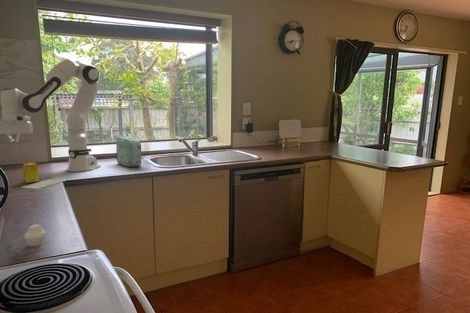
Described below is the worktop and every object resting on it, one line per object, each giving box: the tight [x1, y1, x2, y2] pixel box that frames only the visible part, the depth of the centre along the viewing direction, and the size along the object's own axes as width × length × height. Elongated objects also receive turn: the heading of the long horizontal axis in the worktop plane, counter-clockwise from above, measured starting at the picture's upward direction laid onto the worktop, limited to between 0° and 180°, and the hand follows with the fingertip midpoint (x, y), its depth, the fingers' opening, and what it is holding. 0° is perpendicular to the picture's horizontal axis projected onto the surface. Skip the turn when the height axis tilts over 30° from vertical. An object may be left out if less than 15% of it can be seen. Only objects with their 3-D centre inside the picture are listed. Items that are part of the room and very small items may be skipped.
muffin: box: [24, 224, 47, 247], centre depth 109 cm, size 6×6×7 cm
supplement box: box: [22, 162, 40, 185], centre depth 191 cm, size 6×6×11 cm
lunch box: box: [115, 135, 142, 168], centre depth 243 cm, size 27×10×21 cm, turn 42°
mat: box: [20, 178, 66, 190], centre depth 188 cm, size 20×11×1 cm, turn 163°
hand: (14, 141), depth 191 cm, fingers closed
